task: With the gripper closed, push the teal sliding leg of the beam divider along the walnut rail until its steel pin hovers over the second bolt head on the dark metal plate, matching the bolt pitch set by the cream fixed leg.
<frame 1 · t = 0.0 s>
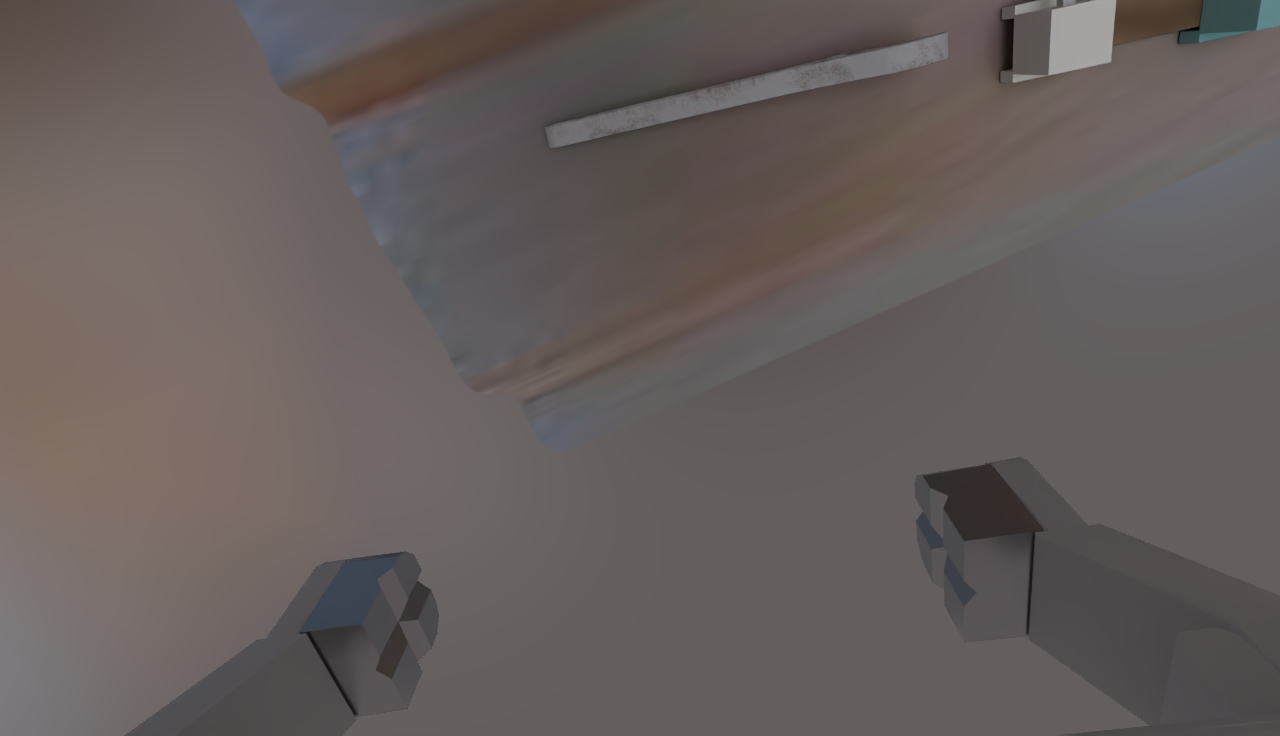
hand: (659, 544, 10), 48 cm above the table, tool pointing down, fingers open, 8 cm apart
wrench: (725, 92, 52), on the table
fixed leg: (1027, 39, 49), on the table
rail: (1178, 6, 48), on the table
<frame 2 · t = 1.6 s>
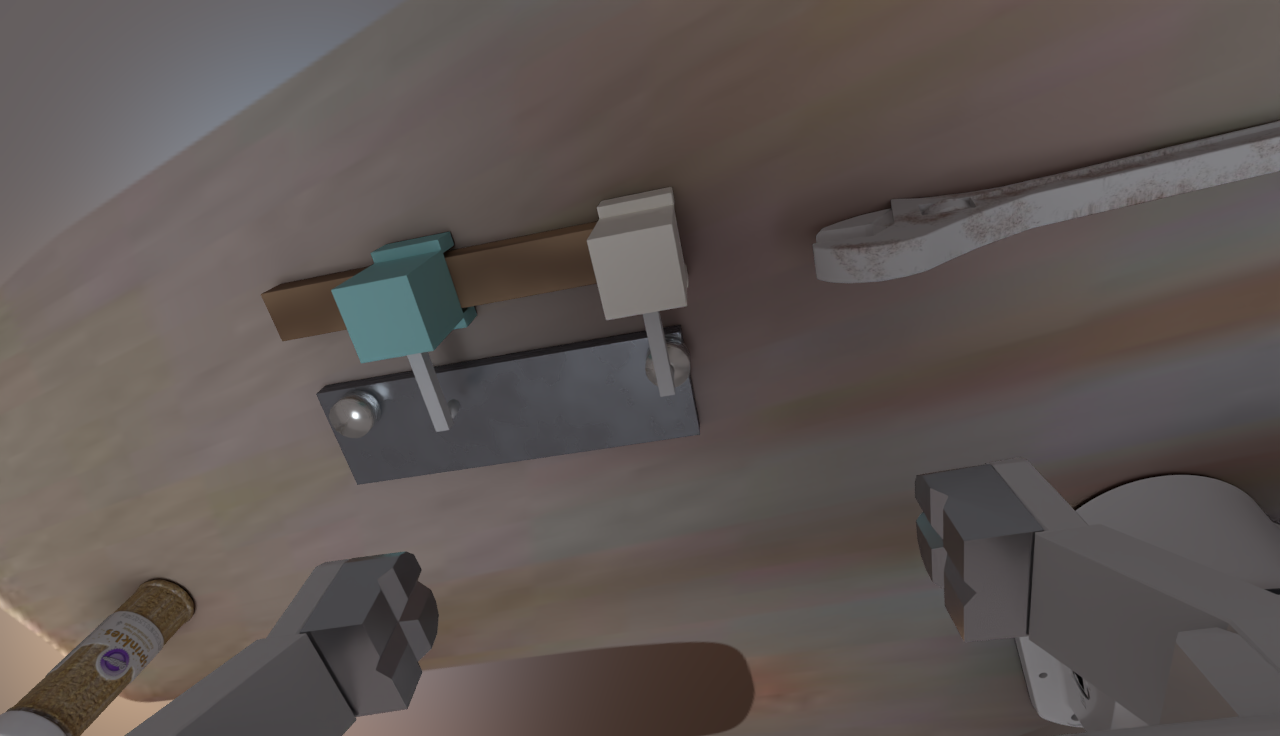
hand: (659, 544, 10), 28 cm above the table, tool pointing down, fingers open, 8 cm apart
wrench: (1073, 175, 34), on the table
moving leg: (424, 339, 36), point 4 cm above the table, slide at 0.0 cm
sprinkles bottle: (170, 597, 51), on the table
fixed leg: (645, 238, 37), on the table
rail: (468, 272, 38), on the table
bolt plate: (511, 405, 42), on the table
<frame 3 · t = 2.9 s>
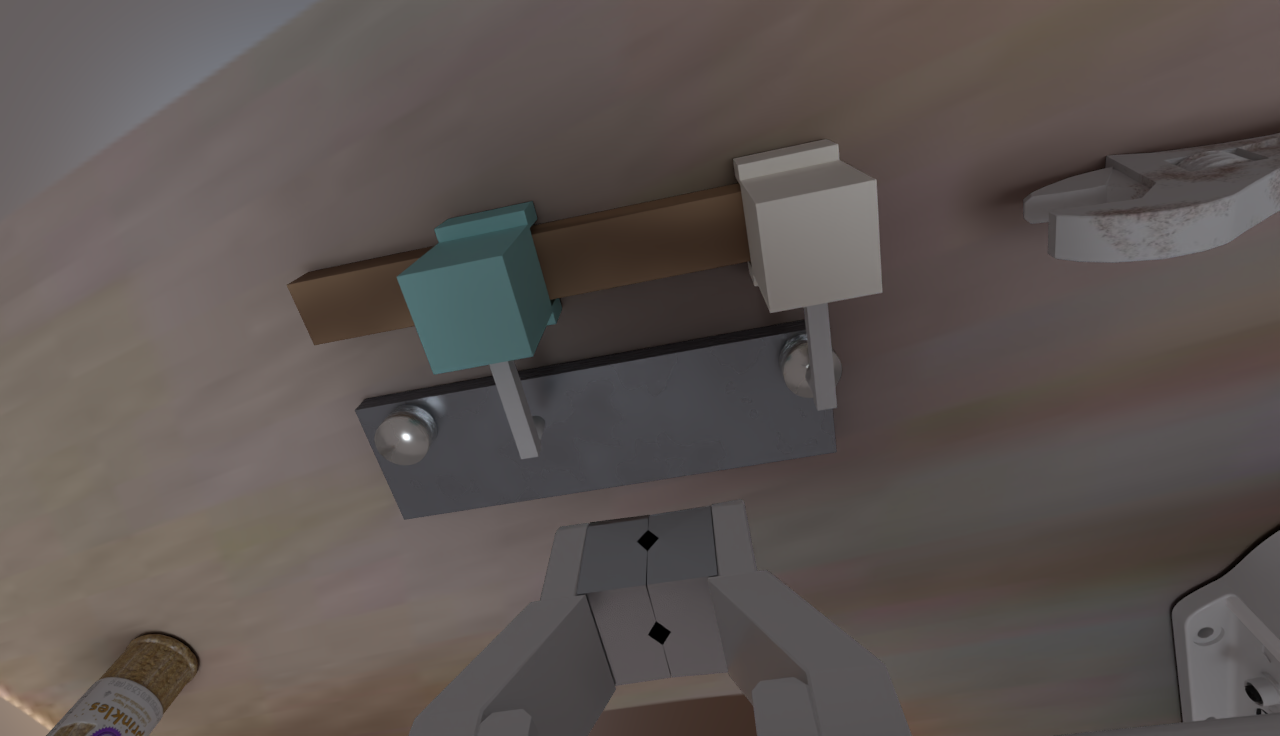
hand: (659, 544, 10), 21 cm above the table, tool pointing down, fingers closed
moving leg: (505, 340, 28), point 4 cm above the table, slide at 0.0 cm
sprinkles bottle: (167, 652, 43), on the table
fixed leg: (785, 208, 29), on the table
rail: (553, 254, 30), on the table
bolt plate: (598, 419, 34), on the table
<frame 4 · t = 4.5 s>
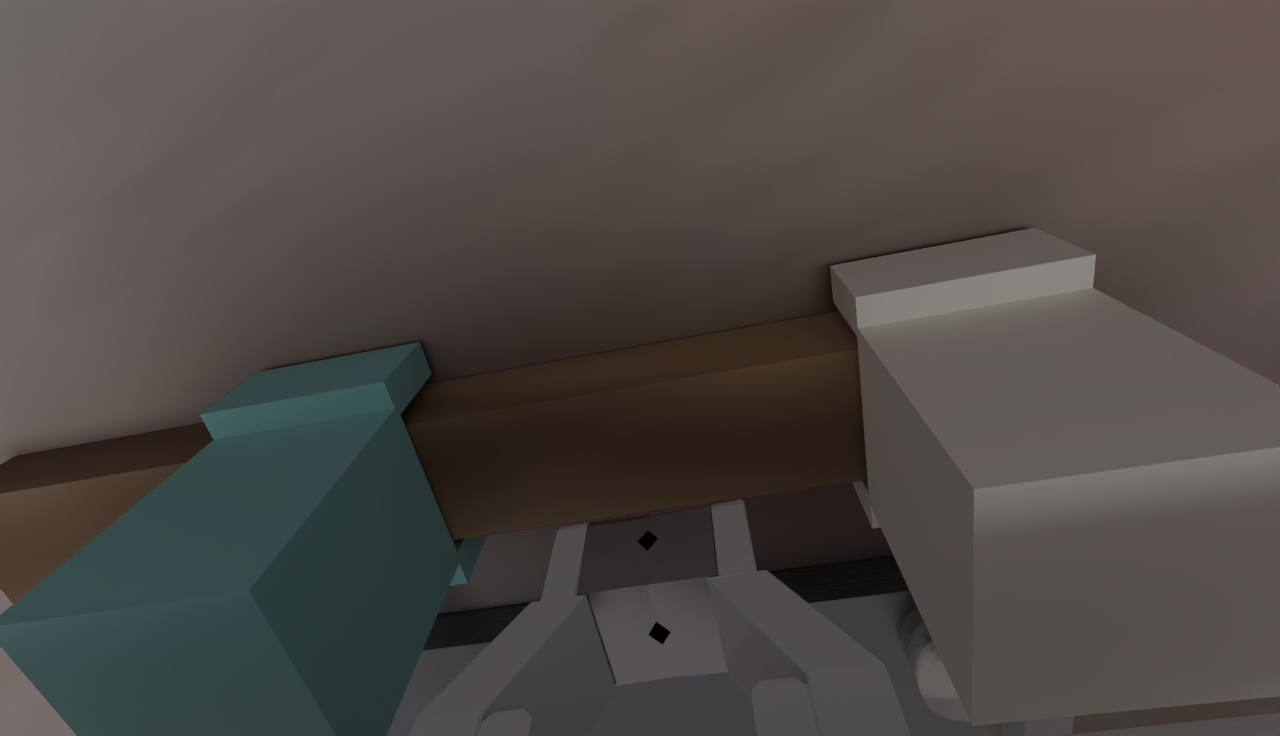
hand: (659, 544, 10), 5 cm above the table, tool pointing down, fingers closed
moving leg: (354, 638, 13), point 4 cm above the table, slide at 0.0 cm
fixed leg: (929, 358, 14), on the table
rail: (469, 434, 16), on the table
bolt plate: (563, 690, 19), on the table
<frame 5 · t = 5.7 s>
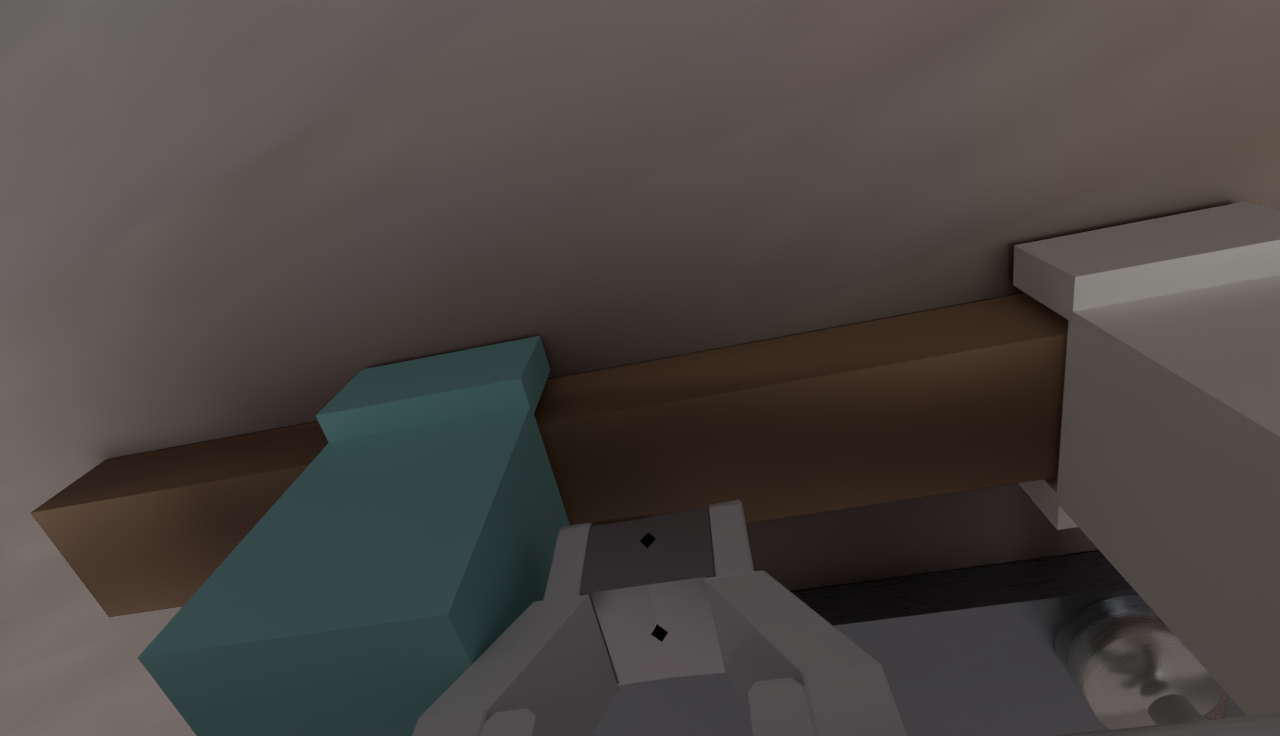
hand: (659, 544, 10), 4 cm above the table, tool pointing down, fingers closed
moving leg: (480, 656, 12), point 4 cm above the table, slide at 0.4 cm, touching gripper
fixed leg: (1108, 346, 13), on the table
rail: (599, 432, 14), on the table
bolt plate: (674, 701, 18), on the table
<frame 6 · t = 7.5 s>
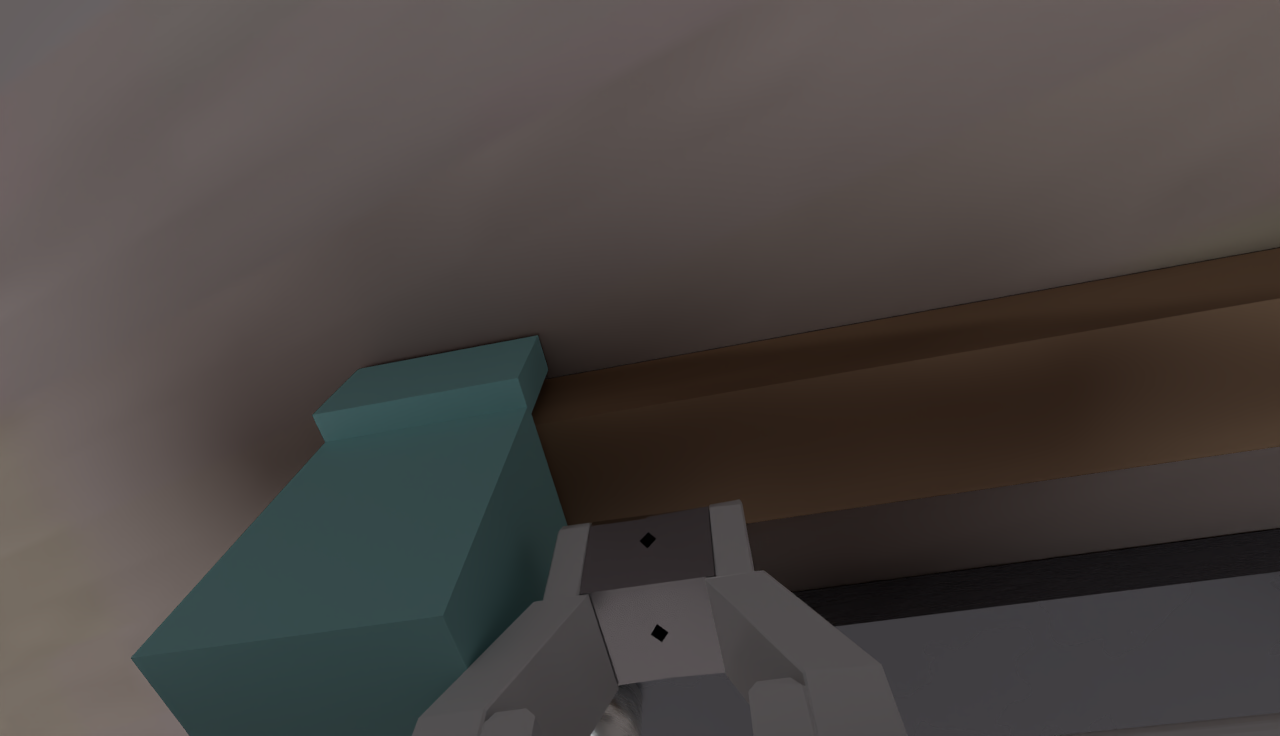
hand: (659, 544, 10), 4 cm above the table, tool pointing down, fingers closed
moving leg: (477, 656, 12), point 4 cm above the table, slide at 7.9 cm, touching gripper
rail: (943, 374, 14), on the table
bolt plate: (948, 671, 17), on the table
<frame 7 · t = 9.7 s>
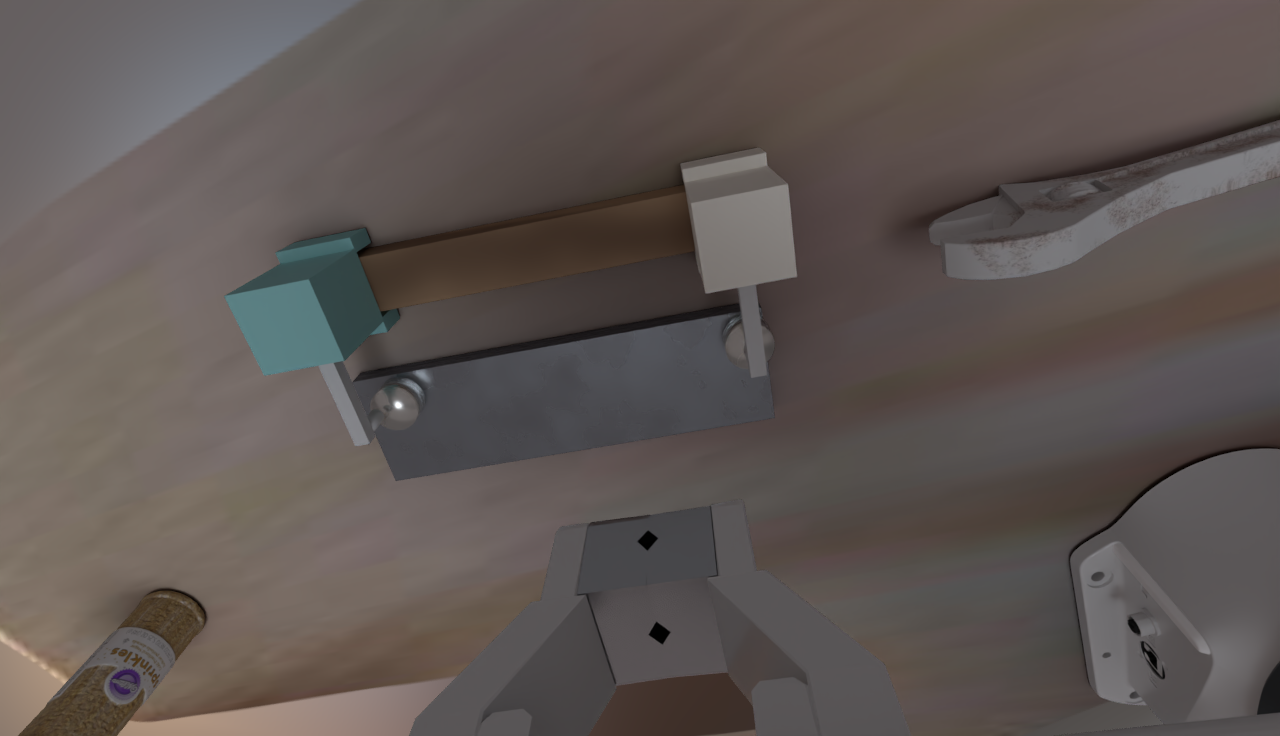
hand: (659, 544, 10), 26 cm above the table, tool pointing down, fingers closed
wrench: (1188, 149, 33), on the table
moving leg: (339, 345, 33), point 4 cm above the table, slide at 7.9 cm
sprinkles bottle: (176, 608, 47), on the table
fixed leg: (726, 205, 34), on the table
rail: (527, 245, 35), on the table
bolt plate: (568, 390, 38), on the table
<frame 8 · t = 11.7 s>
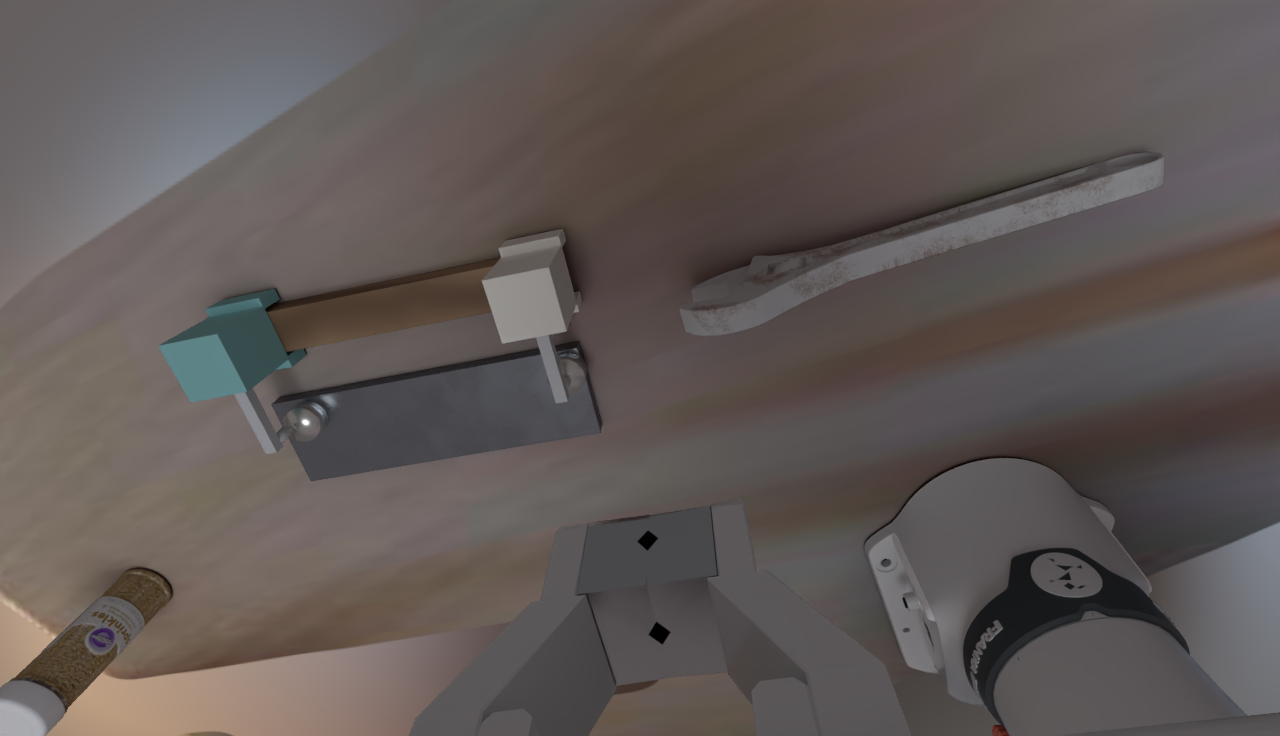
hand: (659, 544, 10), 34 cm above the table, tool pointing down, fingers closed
wrench: (897, 227, 42), on the table
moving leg: (253, 378, 44), point 4 cm above the table, slide at 7.9 cm
sprinkles bottle: (149, 584, 58), on the table
fixed leg: (545, 271, 44), on the table
rail: (398, 300, 45), on the table
bolt plate: (441, 410, 49), on the table
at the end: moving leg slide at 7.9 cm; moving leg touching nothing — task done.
